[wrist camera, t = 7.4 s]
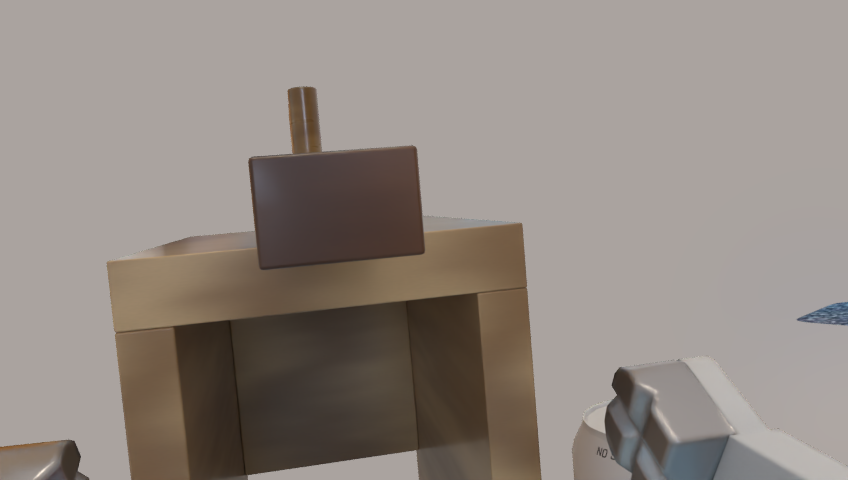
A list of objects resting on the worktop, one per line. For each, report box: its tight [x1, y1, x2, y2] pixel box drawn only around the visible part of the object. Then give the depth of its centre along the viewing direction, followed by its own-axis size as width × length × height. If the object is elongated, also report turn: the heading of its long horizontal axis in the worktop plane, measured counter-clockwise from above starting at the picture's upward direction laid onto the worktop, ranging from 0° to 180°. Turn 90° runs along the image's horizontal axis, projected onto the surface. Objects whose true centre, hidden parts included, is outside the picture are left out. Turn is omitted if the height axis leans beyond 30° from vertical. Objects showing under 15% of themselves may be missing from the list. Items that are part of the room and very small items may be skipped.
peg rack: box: [248, 87, 425, 270], centre depth 26 cm, size 3×28×6 cm, turn 11°
